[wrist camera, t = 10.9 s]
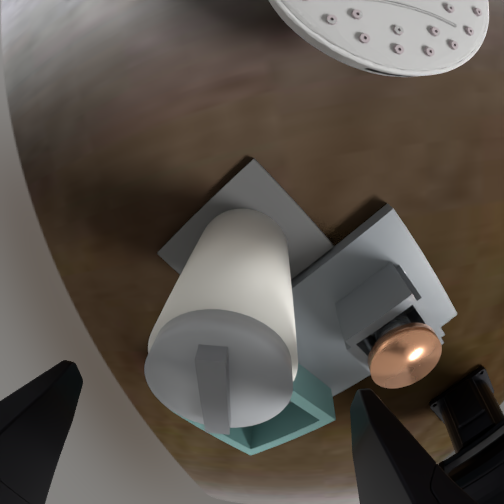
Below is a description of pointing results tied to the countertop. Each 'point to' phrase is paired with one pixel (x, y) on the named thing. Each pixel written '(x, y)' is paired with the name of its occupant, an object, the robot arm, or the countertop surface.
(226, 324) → the cartridge
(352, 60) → the showerhead
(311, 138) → the countertop surface
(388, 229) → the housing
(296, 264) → the mat
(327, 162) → the countertop surface
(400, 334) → the plunger
